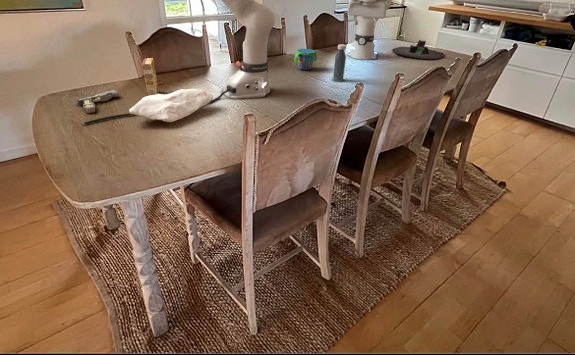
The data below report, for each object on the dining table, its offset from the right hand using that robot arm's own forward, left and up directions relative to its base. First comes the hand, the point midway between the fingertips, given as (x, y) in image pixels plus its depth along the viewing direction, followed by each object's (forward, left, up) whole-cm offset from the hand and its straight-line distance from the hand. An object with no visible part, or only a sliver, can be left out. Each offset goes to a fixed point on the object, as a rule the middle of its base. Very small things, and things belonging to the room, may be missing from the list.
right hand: (364, 25), depth 196 cm
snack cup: (+10, -29, -25) cm, 40 cm away
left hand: (+34, -17, +23) cm, 44 cm away
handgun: (+104, -87, -25) cm, 138 cm away
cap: (+20, -6, -7) cm, 23 cm away
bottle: (+20, -6, -25) cm, 33 cm away
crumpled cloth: (+98, -54, -25) cm, 115 cm away
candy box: (+85, -76, -25) cm, 116 cm away
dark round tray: (-65, +26, -25) cm, 74 cm away
